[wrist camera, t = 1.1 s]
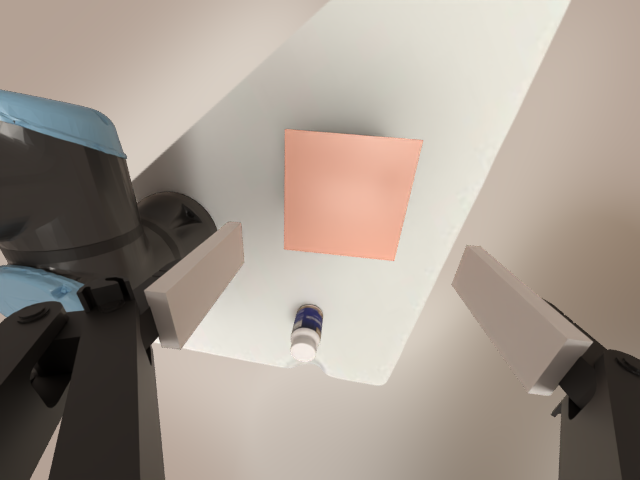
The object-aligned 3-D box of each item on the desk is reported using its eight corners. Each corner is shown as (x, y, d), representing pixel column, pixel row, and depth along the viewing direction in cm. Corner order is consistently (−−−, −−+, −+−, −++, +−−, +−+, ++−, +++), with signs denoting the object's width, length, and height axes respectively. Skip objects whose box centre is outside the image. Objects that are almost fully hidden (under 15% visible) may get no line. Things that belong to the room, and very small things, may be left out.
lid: (288, 241, 29) (284, 249, 27) (289, 129, 24) (284, 129, 22) (390, 251, 29) (394, 260, 27) (416, 139, 23) (423, 140, 21)
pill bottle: (328, 314, 50) (325, 354, 42) (311, 327, 53) (305, 368, 44) (308, 299, 49) (300, 336, 40) (291, 313, 51) (280, 352, 42)
